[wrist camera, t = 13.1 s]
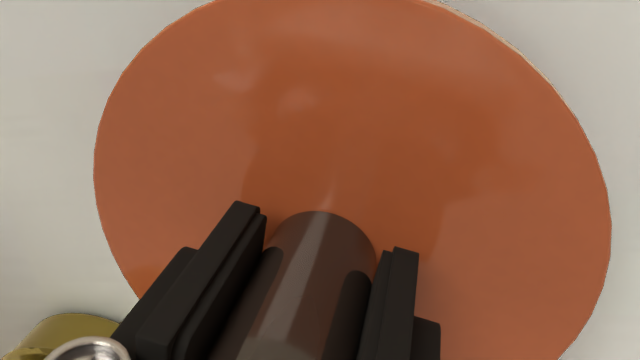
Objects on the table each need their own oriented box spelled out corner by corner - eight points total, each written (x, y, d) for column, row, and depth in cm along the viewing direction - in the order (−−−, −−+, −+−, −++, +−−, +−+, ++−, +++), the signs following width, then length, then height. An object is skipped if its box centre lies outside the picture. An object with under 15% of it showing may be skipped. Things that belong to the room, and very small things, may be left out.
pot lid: (43, 165, 14) (-243, 344, 8) (384, -187, 8) (225, -420, 2) (308, 423, 17) (236, 685, 11) (694, 304, 11) (954, 721, 5)
